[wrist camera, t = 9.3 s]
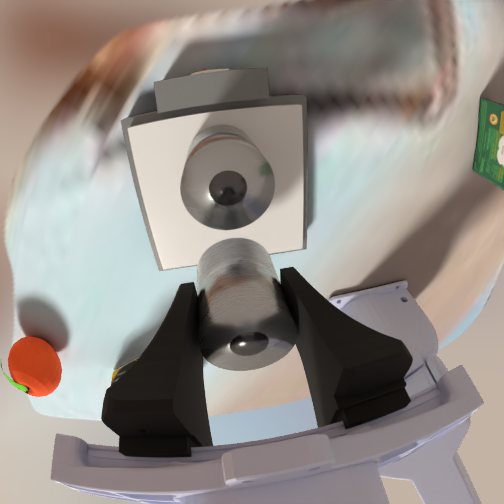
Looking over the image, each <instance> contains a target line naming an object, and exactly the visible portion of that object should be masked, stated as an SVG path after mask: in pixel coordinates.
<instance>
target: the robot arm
mask: <svg viewBox="0 0 504 504" xmlns="http://www.w3.org/2000/svg"><path fill="white" fill-rule="evenodd" d="M280 280H281V287H282V290H283V293H284V295H285V298H286V301H287V304H288V306H289V309H290V312H291V314H292V317H293V320H294V323H295V326H296V328H297V340H296V343H295V344H296V346H297V349H298V351H299V354H300V357H301V360H302V363H303V366H304V370H305V374H306V377H307V381H308V385H309V389H310V393H311V397H312V402H313V406H314V411H315V415H316V419H317V425H318V428H315V429H311V430H307V431H304V432H299V433H294V434H290V435H285V436H280V437H275V438H270V439H264V440H258V441H251V442H244V443H237V444H229V445H219V446H213V443H212V438H211V432H210V426H209V420H208V413H207V405H206V398H205V389H204V380H203V355H202V353H201V351H200V341H199V319H198V296H197V292H196V289H195V285H194V282H191V283H184V284H181V285H180V286H179V288H178V291H177V294H176V296H175V298H174V301H173V303H172V305H171V307H170V309H169V311H168V313H167V315H166V317H165V319H164V321H163V323H162V324H161V326H160V328H159V330H158V332H157V333H156V335H155V336H154V338H153V339H152V341H151V342H150V344H149V345H148V347H147V348H146V349H145V351H144V352H143V353H142V355H141V356H140V357H139V358H138V360H137V361H136V362H135V363H134V364H133V365H132V366H131V367H130V369H129V370H128V371H127V372H126V373H125V374H124V375H123V376H122V377H121V378H120V379H119V380H117V381H116V382H115V383H114V384H113V385H112V386H111V387H109V388H108V389H107V390H106V394H105V397H104V402H103V409H102V417H101V419H102V421H103V423H104V424H105V425H106V426H107V427H109V428H110V429H111V430H112V431H114V432H115V433H116V434H117V435H119V436H120V438H119V447H114V446H113V447H112V446H103V445H93V444H87V443H86V442H85V441H84V440H82V439H80V438H78V437H74V436H69V435H63V434H56V438H55V444H54V452H53V460H52V470H51V480H53V481H55V482H57V483H59V484H62V485H64V486H67V487H69V488H72V489H75V490H77V491H80V492H83V493H88V494H92V495H97V496H102V497H107V498H113V499H118V500H125V501H131V502H139V503H148V504H389V501H388V498H387V495H386V492H385V489H384V487H383V483H382V481H381V478H380V477H385V478H394V479H403V480H410V481H412V483H413V485H414V487H415V488H416V490H417V492H418V494H419V496H420V498H421V500H422V502H423V504H481V501H480V499H479V497H478V495H477V492H476V490H475V488H474V486H473V484H472V481H471V479H470V477H469V475H468V473H467V471H466V469H465V467H464V465H463V463H462V461H461V459H460V457H459V455H458V453H457V450H458V448H459V446H460V444H461V443H462V441H463V439H464V437H465V435H466V433H467V431H468V429H469V426H470V423H471V422H470V416H471V415H472V414H473V413H474V412H475V411H476V410H477V409H478V408H480V406H482V405H483V403H484V401H483V399H482V398H481V396H480V394H479V392H478V391H477V389H476V387H475V385H474V384H473V382H472V380H471V379H470V377H469V375H468V374H467V372H466V370H465V369H464V367H463V366H462V365H460V366H458V367H456V368H454V369H452V370H451V371H448V370H447V368H446V367H445V365H444V364H443V362H442V361H441V359H440V358H439V357H438V356H437V352H438V339H437V334H436V331H435V329H434V327H433V325H432V323H431V322H430V320H429V319H428V317H427V316H426V315H425V313H424V312H423V310H422V309H421V308H420V306H419V305H418V304H417V302H416V301H415V300H414V298H413V297H412V296H411V294H410V293H409V292H408V290H407V286H408V282H407V281H406V280H404V281H400V282H396V283H392V284H388V285H383V286H379V287H375V288H370V289H366V290H362V291H357V292H353V293H348V294H343V295H339V296H334V297H331V298H330V299H329V301H328V300H327V299H326V298H324V297H323V296H322V295H321V294H320V293H319V292H318V291H317V290H316V289H314V288H313V287H312V286H311V285H310V284H309V283H308V282H307V281H306V280H305V279H304V278H303V277H302V276H301V275H300V273H299V272H298V271H297V270H296V269H295V268H294V267H289V268H283V269H280Z"/></svg>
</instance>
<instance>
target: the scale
mask: <svg viewBox="0 0 504 504" xmlns="http://www.w3.org/2000/svg"><path fill="white" fill-rule="evenodd" d="M154 89H155V97H156V104H157V111H152V112H148V113H143V114H139V115H135V116H131V117H127V118H125V119H123V120H121V124H122V130H123V135H124V140H125V145H126V150H127V154H128V159H129V163H130V168H131V172H132V176H133V181H134V185H135V189H136V193H137V197H138V201H139V204H140V208H141V212H142V216H143V219H144V223H145V226H146V230H147V233H148V237H149V240H150V243H151V247H152V250H153V253H154V256H155V259H156V263H157V266H158V269H159V271H163V270H170V269H177V268H184V267H191V266H197V265H198V262H199V260H200V258H201V256H202V255H203V253H204V252H205V251H206V250H207V249H208V248H209V247H210V246H212V245H213V244H215V243H217V242H219V241H222V240H225V239H229V238H246V239H250V240H253V241H255V242H257V243H259V244H260V245H262V246H263V247H264V248H265V249H266V250H267V252H268V253H269V255H271V254H278V253H284V252H291V251H297V250H304V249H306V247H307V212H308V132H307V99H306V96H302V95H275V96H269V83H268V69H267V68H252V69H238V70H229V69H214V70H206V69H203V70H202V71H200V72H194V73H191V74H190V75H189V76H183V77H177V78H172V79H166V80H161V81H157V82H154ZM215 125H230V126H234V127H236V128H238V129H240V130H242V131H243V132H245V133H246V134H247V135H248V136H249V138H250V139H251V140H252V142H253V143H254V144H255V145H256V147H257V148H258V149H259V151H260V152H261V153H262V154H263V156H264V157H265V158H266V160H267V161H268V162H269V164H270V166H271V168H272V171H273V173H274V178H275V191H274V196H273V199H272V201H271V203H270V205H269V207H268V208H267V210H266V211H265V212H264V214H263V215H262V216H261V217H259V218H258V219H257V220H256V221H254V222H253V223H251V224H249V225H247V226H245V227H242V228H239V229H234V230H218V229H213V228H210V227H207V226H205V225H203V224H201V223H199V222H198V221H197V220H195V219H194V218H193V217H192V216H191V215H190V214H189V212H188V211H187V210H186V208H185V206H184V204H183V201H182V198H181V192H180V184H181V178H182V173H183V169H184V165H185V161H186V157H187V153H188V149H189V146H190V144H191V142H192V141H193V139H194V138H195V137H196V136H197V135H198V134H199V133H200V132H201V131H203V130H205V129H206V128H209V127H211V126H215Z"/></svg>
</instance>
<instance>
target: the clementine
mask: <svg viewBox="0 0 504 504" xmlns="http://www.w3.org/2000/svg"><path fill="white" fill-rule="evenodd" d="M1 366H2V365H1ZM8 366H9V371H10V374H11V377H12V378H13V380H14V381H12V380H11V379H9V378H8V377H7V376H6V374H5V373H4V375H5V376H6V378H7V379H8V380H9V381H10V382H11V383H12V384H13V385H14V386H15V387H17V388H18V389H20V390H22V391H24V392H25V393H27V394H29V395H32V396H35V397H40V396H46V395H49V394H50V393H52V392H53V391H54V390H55V389H56V388H57V387H58V385H59V383H60V380H61V373H62V368H61V362H60V359H59V357H58V355H57V353H56V351H55V350H54V349H53V348H52V347H51V345H50V344H49V343H47V342H46V341H44V340H43V339H40V338H37V337H30V336H29V337H25V338H21V339H20V340H18V341H17V342H16V343H15V344H14V345H13V347H12V348H11V350H10V353H9V358H8Z"/></svg>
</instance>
